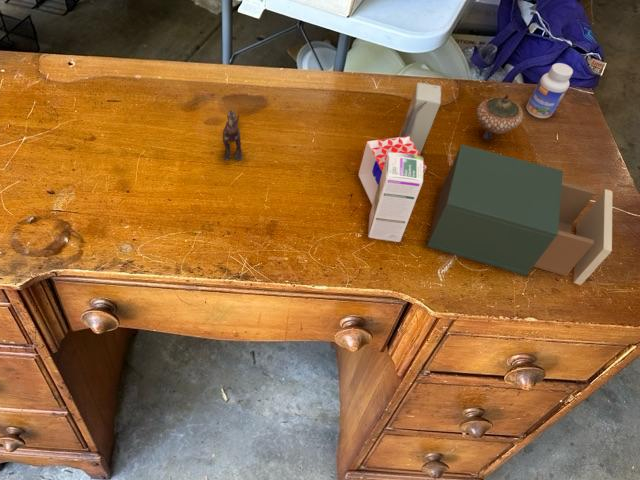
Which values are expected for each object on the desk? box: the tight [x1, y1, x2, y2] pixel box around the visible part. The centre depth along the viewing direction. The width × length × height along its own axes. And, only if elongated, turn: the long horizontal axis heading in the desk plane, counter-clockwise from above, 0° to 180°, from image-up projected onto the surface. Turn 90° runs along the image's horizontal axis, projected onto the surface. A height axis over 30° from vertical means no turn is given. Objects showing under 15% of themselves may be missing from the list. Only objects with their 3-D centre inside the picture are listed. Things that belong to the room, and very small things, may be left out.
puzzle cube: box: [357, 136, 427, 205], centre depth 101 cm, size 8×8×8 cm
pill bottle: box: [525, 62, 574, 119], centre depth 114 cm, size 5×5×10 cm
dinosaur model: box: [222, 110, 243, 161], centre depth 105 cm, size 4×12×15 cm
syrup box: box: [367, 152, 424, 243], centre depth 93 cm, size 6×6×14 cm
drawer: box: [533, 181, 613, 286], centre depth 93 cm, size 17×13×9 cm
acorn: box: [476, 94, 524, 139], centre depth 109 cm, size 8×8×10 cm
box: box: [398, 82, 442, 155], centre depth 105 cm, size 5×4×13 cm
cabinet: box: [426, 144, 564, 277], centre depth 95 cm, size 17×15×11 cm
